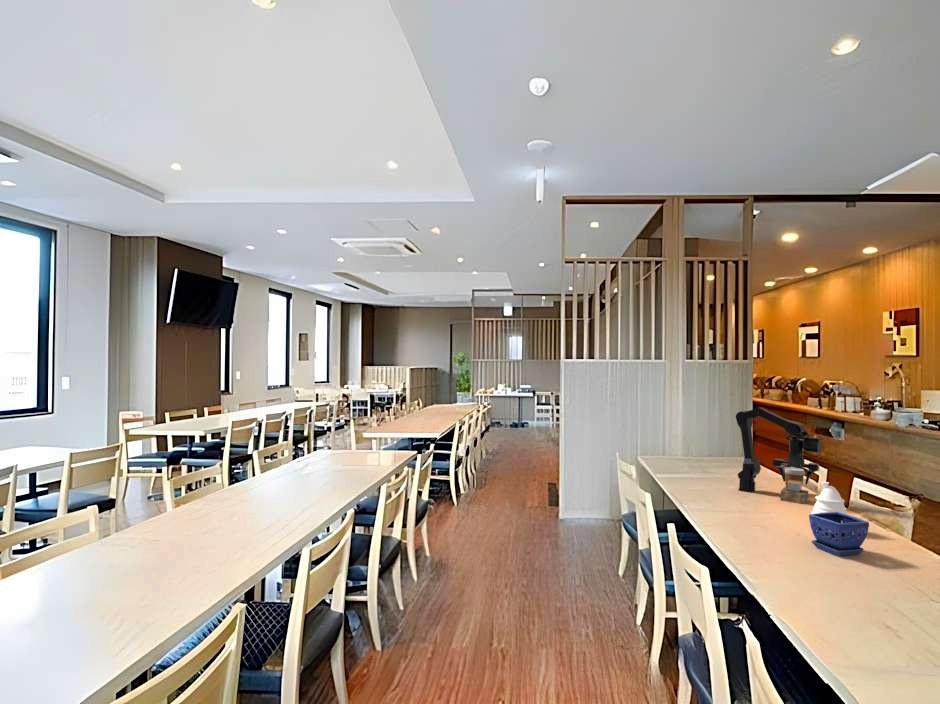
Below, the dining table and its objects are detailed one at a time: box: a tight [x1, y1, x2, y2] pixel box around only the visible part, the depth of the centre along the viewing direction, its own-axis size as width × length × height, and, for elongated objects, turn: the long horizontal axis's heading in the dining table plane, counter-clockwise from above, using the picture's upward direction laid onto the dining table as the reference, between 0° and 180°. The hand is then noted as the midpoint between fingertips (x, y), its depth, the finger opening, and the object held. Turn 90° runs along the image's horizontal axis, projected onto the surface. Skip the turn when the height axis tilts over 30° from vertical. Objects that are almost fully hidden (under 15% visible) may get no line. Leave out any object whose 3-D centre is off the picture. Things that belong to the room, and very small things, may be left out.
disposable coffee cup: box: [784, 466, 806, 490], centre depth 295 cm, size 10×10×12 cm
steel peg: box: [788, 480, 803, 493], centre depth 281 cm, size 5×5×9 cm
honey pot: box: [810, 480, 848, 523], centre depth 237 cm, size 13×13×18 cm
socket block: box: [780, 486, 809, 505], centre depth 281 cm, size 10×10×4 cm
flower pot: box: [808, 512, 870, 557], centre depth 209 cm, size 13×13×12 cm
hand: (795, 483), depth 281 cm, fingers open, 9 cm apart
